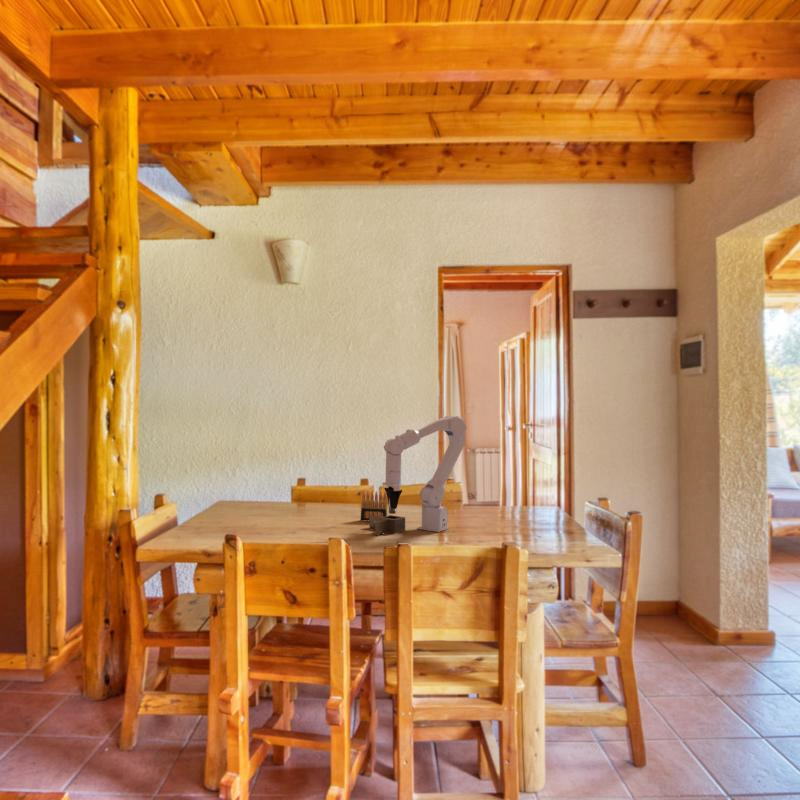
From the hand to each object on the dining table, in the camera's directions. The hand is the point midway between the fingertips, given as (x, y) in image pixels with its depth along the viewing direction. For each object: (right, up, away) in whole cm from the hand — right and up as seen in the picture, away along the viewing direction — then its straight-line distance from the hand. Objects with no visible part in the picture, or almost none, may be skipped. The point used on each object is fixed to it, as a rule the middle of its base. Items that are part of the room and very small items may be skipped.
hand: (392, 507), depth 225 cm
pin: (0, -2, 0) cm, 2 cm away
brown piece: (-5, -9, -1) cm, 10 cm away
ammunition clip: (-8, -9, +18) cm, 22 cm away
